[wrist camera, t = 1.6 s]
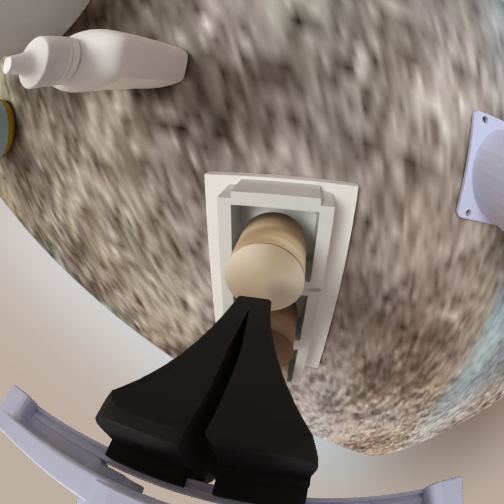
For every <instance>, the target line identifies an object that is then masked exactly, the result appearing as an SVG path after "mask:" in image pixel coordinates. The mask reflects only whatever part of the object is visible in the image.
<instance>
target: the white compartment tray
mask: <svg viewBox="0 0 504 504" xmlns="http://www.w3.org/2000/svg"><path fill="white" fill-rule="evenodd" d="M205 193H206V211H207V227H208V242H209V255H210V268H211V280H212V291H213V302H214V312H215V322H217V321H218V320H219V319H220V318H221V317H222V316H223V314H224V313H225V312H226V311H227V310H228V309H229V307H230V306H231V305H232V304H233V302H234V301H235V300H236V298H235V297H234V296H233V294H232V293H231V292H230V290H229V289H228V286H227V284H226V281H225V267H226V264H227V262H228V260H229V258H230V256H231V254H232V252H233V250H234V248H235V246H236V244H237V242H238V240H239V238H240V236H241V234H242V232H243V230H244V228H245V226H246V225H247V223H248V222H249V221H250V220H251V219H252V218H254V217H255V216H257V215H259V214H262V213H266V212H278V213H283V214H286V215H288V216H290V217H292V218H293V219H294V220H296V221H297V222H298V223H299V224H300V226H301V227H302V228H303V230H304V232H305V235H306V240H307V247H306V266H305V282H304V289H303V291H302V293H301V295H300V297H299V298H298V299H297V300H296V301H295V303H296V305H297V310H298V311H297V322H296V331H295V340H294V348H293V356H292V359H291V361H290V362H289V368H288V375H287V382H286V384H287V386H291V384H293V385H300V382H301V378H302V374H303V370H304V367H311V368H318V366H319V363H320V359H321V356H322V353H323V349H324V346H325V342H326V339H327V335H328V332H329V328H330V324H331V320H332V317H333V313H334V309H335V305H336V301H337V297H338V293H339V288H340V284H341V280H342V275H343V271H344V266H345V261H346V256H347V252H348V246H349V241H350V236H351V231H352V225H353V219H354V213H355V207H356V201H357V194H358V185H357V183H351V182H343V181H335V180H326V179H317V178H307V177H297V176H285V175H272V174H257V173H238V172H212V171H208V172H207V173H206V174H205Z"/></svg>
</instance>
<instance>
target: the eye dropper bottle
mask: <svg viewBox="0 0 504 504" xmlns="http://www.w3.org/2000/svg"><path fill="white" fill-rule="evenodd" d="M187 61H188V54H187V53H186V51H184V50H182V49H180V48H178V47H175V46H172V45H169V44H166V43H163V42H159V41H156V40H152V39H149V38H145V37H141V36H137V35H133V34H129V33H124V32H120V31H114V30H107V29H92V30H86V31H82V32H78V33H76V34H74V35H71V36H70V37H64V36H39V37H36V38H35V39H33V40H32V41H31V42H30V43H29V44H28V46H27V47H26V49H25V50H24V52H23V53H20V54H16V55H13V56H10V57H8V58H7V59H6V60H5V63H4V67H3V71H4V73H5V74H15V75H19V78H20V82H21V84H22V85H23V86H24V87H25V88H26V89H34V88H41V87H48V86H53V87H55V88H57V89H59V90H61V91H65V92H89V91H101V90H116V89H151V88H161V87H166V86H169V85H173V84H176V83H178V82H180V81H181V80H183V78H184V76H185V72H186V66H187Z"/></svg>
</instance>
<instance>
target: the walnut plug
mask: <svg viewBox="0 0 504 504" xmlns="http://www.w3.org/2000/svg"><path fill="white" fill-rule="evenodd" d="M297 311H298V310H297V305H296V303H295V302H294V303H293V304H291V305H290V306H288V307H286V308H283V309H279V310H274V311H271V317H270V319H271V329H272V335H273V341H274V345H275V350H276V354H277V357H278V361H279V364H280V368H282V367H284V366H285V365H287V364H288V363H289V362H290V361H291V359H292V356H293V348H294V340H295V331H296V322H297Z"/></svg>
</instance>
